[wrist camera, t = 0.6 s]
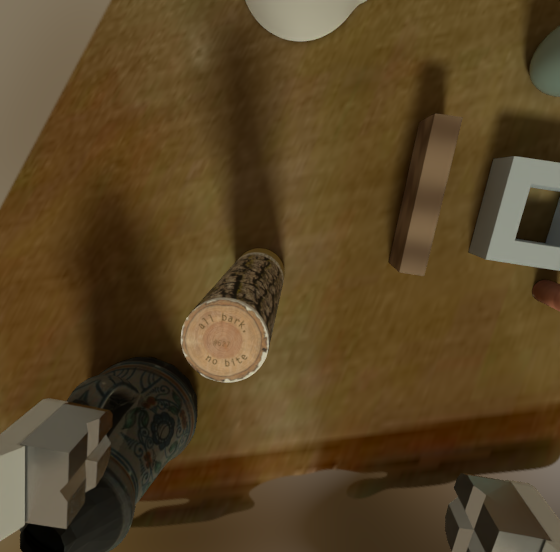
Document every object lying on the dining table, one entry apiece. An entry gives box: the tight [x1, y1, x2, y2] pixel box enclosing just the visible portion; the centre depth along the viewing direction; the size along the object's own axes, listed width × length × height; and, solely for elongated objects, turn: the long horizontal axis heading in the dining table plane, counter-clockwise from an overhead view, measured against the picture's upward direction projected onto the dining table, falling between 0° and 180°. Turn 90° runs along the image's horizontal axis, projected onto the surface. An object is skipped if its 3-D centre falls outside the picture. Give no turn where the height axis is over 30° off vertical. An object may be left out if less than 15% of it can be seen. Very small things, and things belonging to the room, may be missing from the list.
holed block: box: [469, 156, 560, 271], centre depth 48 cm, size 12×12×5 cm
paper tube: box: [181, 248, 284, 382], centre depth 42 cm, size 7×7×25 cm
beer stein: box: [20, 357, 197, 552], centre depth 47 cm, size 16×19×25 cm
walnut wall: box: [389, 113, 463, 276], centre depth 48 cm, size 18×3×6 cm, turn 172°
